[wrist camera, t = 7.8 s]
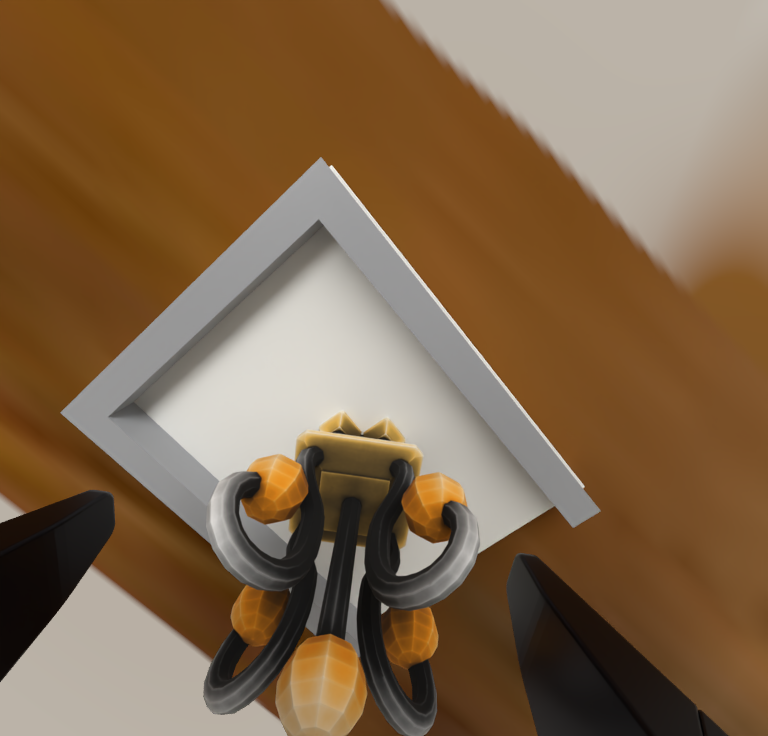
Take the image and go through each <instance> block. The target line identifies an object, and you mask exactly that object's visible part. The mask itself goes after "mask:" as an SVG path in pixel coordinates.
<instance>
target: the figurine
mask: <svg viewBox="0 0 768 736" xmlns="http://www.w3.org/2000/svg"><path fill="white" fill-rule="evenodd" d="M361 433H362V432H361V430H360V429H359V428H358V427H357V426H356V424H355V423H354V422H353V421H352V419H351V418H350V417H349V416H348V415H347V413H346V412H345V411H340V412H339V413H337V414H336V415H334V416H333V417H331V418H330V419H329V420H327V421H326V422H324V423H323V424H321V425H320V426H319V431H316V430H309V429H307V430H305V431H304V432H303V433H301V434H300V435H298V436H297V438H296V448H295V460H292V459H290V458H288V457H286V456H284V455H282V454H276V455H271V456H267V457H262V458H258V459H256V460H255V461H254V462H252V463H251V464H250V466H249V468H248V470H247V471H241V472H235V473H232V474H231V475H229V476H227V477H226V478H224V479H223V480H221V481H219V482H218V484H217V486H216V488H215V490H214V492H213V494H212V496H211V498H210V500H209V503H208V505H207V518H206V528H207V531H208V535H209V538H210V542H211V545H212V548H213V550H214V552H215V553H216V555H217V556H218V558H219V560H220V561H221V563H222V564H223V566H224V567H225V569H227V570H228V571H229V572H230V573H231V574H232V575H233V576H235V577H236V578H237V579H238V580H239V581H240V582H242V583H244V584H246V586H245V588H244V589H243V590H242V592H241V594H240V595H239V597H238V598H237V600H236V602H235V603H234V605H233V608H232V612H231V620H232V624H233V628H234V629H233V630H232V632H231V633H230V634H229V635H228V637H227V638H226V639H225V641H224V642H223V643H222V645H221V647H220V649H219V650H218V652H217V654H216V656H215V657H214V659H213V661H212V663H211V665H210V667H209V670H208V673H207V676H206V679H205V682H204V696H203V697H204V700H205V702H206V705H207V707H208V708H209V709H210V711H211V712H212V713H213V714H221V715H224V714H233V713H236V712H237V711H239V710H240V709H242V708H244V707H246V706H247V705H249V704H250V703H251V702H252V701H253V700H255V699H256V698H257V697H258V696H259V695H260V694H261V693H262V692H264V690H265V689H266V688H267V687H268V686H269V685H270V683H271V682H272V681H273V680H274V679H275V678H276V676H277V675H278V674H279V673H280V671H281V670H282V668H283V667H284V665H285V664H286V665H285V667H284V669H283V671H282V673H281V675H280V677H279V680H278V682H277V689H276V701H275V703H276V706H277V710H278V713H279V716H280V720H281V723H282V725H283V727H284V729H285V731H286V733H287V735H288V736H347V735H348V733H349V732H350V731H351V730H352V728H353V727H354V725H355V724H356V722H357V721H358V719H359V718H360V717H361V715H362V713H363V709H364V705H365V701H366V697H367V689H366V681H365V677H366V680H367V684H368V686H369V688H370V691H371V693H372V695H373V697H374V700H375V702H376V704H377V706H378V707H379V709H380V711H381V712H382V714H383V715H384V717H385V719H386V720H387V722H388V723H389V724H390V725H391V726H392V727H393V728H394V729H395V730H396V731H397V732H398V733H399V734H402V735H405V736H423V735H425V734H427V732H428V731H429V730H430V728H431V727H432V725H433V723H434V719H435V716H436V712H437V693H436V688H435V683H434V678H433V674H432V669H431V666H430V664H429V661H428V660H429V659H430V657H431V656H432V655H433V653H434V651H435V650H436V648H437V646H438V632H437V628H436V625H435V621H434V618H433V615H432V611H431V609H430V608H429V606H431V605H433V604H435V603H437V602H439V601H441V600H443V599H445V598H446V597H447V596H448V595H449V594H451V593H452V592H453V591H454V590H455V589H456V588H457V587H459V586H460V585H461V584H462V583H463V581H464V580H465V578H466V577H467V575H468V574H469V572H470V571H471V569H472V567H473V566H474V564H475V561H476V557H477V554H478V551H479V547H480V537H479V527H478V523H477V518H476V517H475V516H474V515H473V514H472V512H471V511H470V510H469V509H468V506H467V502H466V497H465V493H464V489H463V488H462V486H461V485H460V483H458V482H457V481H455V480H453V479H451V478H449V477H448V476H446V475H444V474H442V473H440V472H436V473H431V474H426V475H421V476H420V471H421V466H422V461H423V453H422V452H421V450H420V449H419V448H418V447H417V445H415V444H408V443H405V441H406V439H405V437H404V436H403V435H402V433H401V432H400V431H399V430H398V428H397V427H396V426H395V425H394V423H393V422H392V421H391V420H390V418H388V417H386V418H384V419H383V420H381V421H380V422H378V423H377V424H375V425H374V426H372V427H371V428H369V429H368V430H366V431H365V432H364V433H363V435H361ZM240 500H241V502H242V505H243V507H244V509H245V512H246V514H247V516H248V517H250V518H252V519H254V520H256V521H258V522H260V523H262V524H264V525H266V524H271V523H276V522H281V521H285V520H288V519H289V527H288V530H289V531H290V532H291V534H292V535H291V537H290V539H289V542H288V544H287V547H286V556H285V557H283V558H282V559H278V558H274V557H271V556H269V555H268V554H266V553H265V552H263V551H261V550H260V549H259V548H258V547H257V546H256V545H255V544H254V543H253V542H252V541H251V540H250V539H249V537H248V535H247V533H246V532H245V530H244V528H243V526H242V522H241V518H240V515H239V509H240ZM409 530H410V531H411V532H412V533H414V534H416V535H417V536H419V537H421V538H423V539H425V540H427V541H429V542H431V543H433V544H434V543H439V542H445V541H448V544H447V546H446V547H445V549H444V550H443V552H442V554H441V555H440V556H439V557H438V558H437V559H436V560H435V561H434V562H433V563H432V564H431V565H429V566H428V567H426V568H424V569H422V570H421V571H419V572H417V573H413V574H410V575H407V576H397V575H396V573H397V572H398V569H399V566H400V549H402V548H403V547H405V546H406V542H407V537H408V532H409ZM321 541H322V542H329V543H334V547H333V552H332V557H331V562H330V567H329V572H328V577H327V582H326V587H325V592H324V597H323V602H322V607H321V612H320V617H319V622H318V627H317V632H316V636H315V637H310V638H307V639H306V640H305V641H304V642H303V643H302V644H301V645H299V647H298V648H297V649H296V651H295V652H294V654H293V655H292V653H293V651H294V649H295V647H296V645H297V643H298V641H299V639H300V637H301V635H302V633H303V631H304V628H305V626H306V623H307V620H308V618H309V615H310V612H311V608H312V604H313V600H314V595H315V590H316V584H317V575H318V573H317V568H316V565H315V562H314V561H315V559H316V557H317V555H318V552H319V548H320V545H321ZM356 546H359V547H365V558H364V565H365V571H366V573H365V575H364V576H363V578H362V581H361V585H360V590H359V597H358V605H357V618H356V619H357V639H358V645H359V652H360V658H361V663H362V666H363V669H362V666H361V663H360V661H359V658H358V655H357V653H356V651H355V649H354V648H353V646H352V644H351V643H349V642H347V641H345V635H346V627H347V618H348V610H349V602H350V594H351V586H352V578H353V569H354V561H355V553H356ZM291 587H292V590H291V593H290V591H289V588H291ZM381 603H383V604H384V605H386V606H388V607H389V608H388V609H387V611H386V612H385V613H384V614H383V616H382V617H381ZM248 645H251V646H254V647H258V646H264V645H266V646H265V647H264V649H263V650H262V651H261V653H260V654H259V655H258V656H257V657H256V658H255V660H254V661H253V662H252V663H251V664H250V665H249V666H248V667H247V668H245V669H244V670H243V671H242V672H241V673H239V674H238V675H236V676H235V677H233V678H232V675H233V673H234V670H235V667H236V664H237V663H238V661H239V659H240V657H241V655H242V654H243V652H244V651H245V649H246V648H247V647H248ZM291 655H292V656H291ZM290 656H291V658H290ZM289 658H290V659H289ZM288 659H289V661H288ZM388 659H389V660H390V661H391V663H394V664H396V665H398V666H400V667H402V668H404V669H408V670H409V674H410V678H411V683H412V700H411V699H410V698H409V697H408V696H407V695H406V694H405V692H404V691H403V689H402V688H401V686H400V685H399V683H398V681H397V679H396V677H395V675H394V673H393V671H392V669H391V666H390V663H389V660H388ZM287 661H288V662H287ZM286 662H287V663H286ZM363 670H364V672H363ZM364 673H365V674H364Z"/></svg>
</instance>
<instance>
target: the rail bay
mask: <svg viewBox="0 0 768 736" xmlns="http://www.w3.org/2000/svg"><path fill="white" fill-rule="evenodd" d="M340 411H345V412H346V413H347V415H348V416H349V417H350V418H351V419H352V421H353V422H354V423H355V424H356V426H357V427H358V428H359V429H360V430H361V432H362V433H361V435H363V433H364V432H365V431H366V430H368V429H369V428H371V427H372V426H374V425H375V424H377V423H378V422H380V421H381V420H383V419H384V418H386V417H388V418H390V420H391V421H392V422H393V423H394V425H395V426H396V427H397V428H398V430H399V431H400V432H401V433H402V435H403V436H404V437H405V439H406V441H405V443H408V444H415V445H417V447H418V448H419V449H420V450H421V452H422V453H423V461H422V466H421V471H420V476H421V475H426V474H431V473H436V472H440V473H442V474H444V475H446V476H448V477H449V478H451V479H453V480H455V481H457V482H458V483H460V485H461V486H462V488H463V489H464V493H465V497H466V502H467V506H468V509H469V510H470V511H471V512H472V514H473V515H474V516H475V517H476V518H477V523H478V527H479V537H480V547H479V551H478V553H480V552H481V551H483V550H485V549H486V548H488V547H489V546H491V545H493V544H494V543H496V542H498V541H499V540H501V539H502V538H504V537H506V536H507V535H509V534H510V533H512V532H514V531H515V530H517V529H518V528H520V527H522V526H523V525H525V524H526V523H528V522H530V521H531V520H533V519H534V518H536V517H538V516H539V515H541V514H542V513H544V512H546V511H547V510H549V509H550V508H552V507H554V506H555V507H556V508H557V509H558V510H559V511H560V513H561V514H562V515H563V516H564V517H565V519H566V520H567V521H568V522H569V523H570V525H571V526H572V527H573V528H574V527H575V526H577V525H579V524H580V523H582V522H584V521H585V520H587V519H589V518H590V517H592V516H594V515H595V514H597V513H599V512H600V510H599V508H598V507H597V506H596V505H595V503H594V502H593V501H592V499H591V498H590V497H589V496H588V494H587V493H586V492H585V491H584V489H583V488H584V487H585V486H584V485H583V484H582V482H581V481H580V480H579V479H578V477H577V476H576V475H575V474H574V472H573V471H572V470H571V468H570V467H569V466H568V465H567V463H566V462H565V461H564V460H563V458H562V457H561V456H560V454H559V453H558V452H557V451H556V449H555V448H554V447H553V446H552V444H551V443H550V442H549V440H548V439H547V438H546V437H545V435H544V434H543V433H542V432H541V430H540V429H539V428H538V427H537V425H536V424H535V423H534V421H533V420H532V419H531V418H530V416H529V415H528V414H527V413H526V411H525V410H524V409H523V407H522V406H521V405H520V404H519V402H518V401H517V400H516V399H515V397H514V396H513V395H512V393H511V392H510V391H509V390H508V388H507V387H506V386H505V385H504V383H503V382H502V381H501V379H500V378H499V377H498V376H497V374H496V373H495V372H494V371H493V369H492V368H491V367H490V366H489V364H488V363H487V362H486V360H485V359H484V358H483V357H482V355H481V354H480V353H479V352H478V350H477V349H476V348H475V346H474V345H473V344H472V343H471V341H470V340H469V339H468V338H467V336H466V335H465V334H464V332H463V331H462V330H461V329H460V327H459V326H458V325H457V324H456V322H455V321H454V320H453V319H452V317H451V316H450V315H449V313H448V312H447V311H446V310H445V308H444V307H443V306H442V305H441V303H440V302H439V301H438V299H437V298H436V297H435V296H434V294H433V293H432V292H431V291H430V289H429V288H428V287H427V285H426V284H425V283H424V282H423V280H422V279H421V278H420V277H419V275H418V274H417V273H416V272H415V270H414V269H413V268H412V266H411V265H410V264H409V263H408V261H407V260H406V259H405V258H404V256H403V255H402V254H401V252H400V251H399V250H398V249H397V247H396V246H395V245H394V244H393V242H392V241H391V240H390V238H389V237H388V236H387V235H386V233H385V232H384V231H383V230H382V228H381V227H380V226H379V225H378V223H377V222H376V221H375V219H374V218H373V217H372V216H371V214H370V213H369V212H368V211H367V209H366V208H365V207H364V205H363V204H362V203H361V202H360V200H359V199H358V198H357V197H356V195H355V194H354V193H353V191H352V190H351V189H350V188H349V186H348V185H347V184H346V183H345V181H344V180H343V179H342V177H341V176H340V175H339V174H338V172H337V171H336V170H335V169H334V167H333V166H332V165H331V166H330V167H328V165H327V164H326V163H325V161H324V160H323V159H322V158H320V159H319V160H318V161H317V162H316V163H315V164H313V165H312V166H311V167H310V168H309V169H308V170H307V171H306V172H305V173H304V174H303V175H302V176H301V177H300V178H299V179H298V180H297V181H296V182H295V183H294V184H293V185H292V186H291V187H290V188H289V189H288V190H287V191H286V192H285V193H284V194H283V195H282V196H281V197H280V198H279V199H278V200H277V201H276V202H275V203H274V204H273V205H272V206H271V207H270V208H269V209H268V210H267V211H266V212H265V213H264V214H263V215H261V216H260V217H259V218H258V219H257V220H256V221H255V222H254V223H253V224H252V225H251V226H250V227H249V228H248V229H247V230H246V231H245V232H244V233H243V234H242V235H241V236H240V237H239V238H238V239H237V240H236V241H235V242H234V243H233V244H232V245H231V246H230V247H229V248H228V249H227V250H226V251H225V252H224V253H223V254H222V255H221V256H220V257H219V258H218V259H217V260H216V261H215V262H214V263H213V264H212V265H211V266H209V267H208V268H207V269H206V270H205V271H204V272H203V273H202V274H201V275H200V276H199V277H198V278H197V279H196V280H195V281H194V282H193V283H192V284H191V285H190V286H189V287H188V288H187V289H186V290H185V291H184V292H183V293H182V294H181V295H180V296H179V297H178V298H177V299H176V300H175V301H174V302H173V303H172V304H171V305H170V306H169V307H168V308H167V309H166V310H165V311H164V312H163V313H162V314H161V315H160V316H159V317H158V318H156V319H155V320H154V321H153V322H152V323H151V324H150V325H149V326H148V327H147V328H146V329H145V330H144V331H143V332H142V333H141V334H140V335H139V336H138V337H137V338H136V339H135V340H134V341H133V342H132V343H131V344H130V345H129V346H128V347H127V348H126V349H125V350H124V351H123V352H122V353H121V354H120V355H119V356H118V357H117V358H116V359H115V360H114V361H113V362H112V363H111V364H110V365H109V366H108V367H107V368H106V369H104V370H103V371H102V372H101V373H100V374H99V375H98V376H97V377H96V378H95V379H94V380H93V381H92V382H91V383H90V384H89V385H88V386H87V387H86V388H85V389H84V390H83V391H82V392H81V393H80V394H79V395H78V396H77V397H76V398H75V399H74V400H73V401H72V402H71V403H70V404H69V405H68V406H67V407H66V408H65V409H64V410H63V411H62V412H61V414H62V415H63V416H65V417H66V418H67V419H68V420H69V421H70V422H71V423H73V424H74V425H75V426H76V427H77V428H78V429H79V430H81V431H82V432H83V433H84V434H85V435H86V436H87V437H89V438H90V439H91V440H92V441H93V442H94V443H96V444H97V445H98V446H99V447H100V448H101V449H102V450H104V451H105V452H106V453H107V454H108V455H109V456H110V457H112V458H113V459H114V460H115V461H116V462H117V463H118V464H120V465H121V466H122V467H123V468H124V469H125V470H126V471H128V472H129V473H130V474H131V475H132V476H133V477H135V478H136V479H137V480H138V481H139V482H140V483H141V484H143V485H144V486H145V487H146V488H147V489H148V490H149V491H151V492H152V493H153V494H154V495H155V496H156V497H157V498H159V499H160V500H161V501H162V502H163V503H164V504H165V505H167V506H168V507H169V508H170V509H171V510H172V511H173V512H175V513H176V514H177V515H178V516H179V517H180V518H182V519H183V520H184V521H185V522H186V523H187V524H188V525H190V526H191V527H192V528H193V529H194V530H195V531H196V532H198V533H199V534H200V535H201V536H202V537H203V538H204V539H206V540H207V541H208V542H209V543H210V544H211V542H210V538H209V535H208V531H207V528H206V518H207V505H208V503H209V500H210V498H211V496H212V494H213V492H214V490H215V488H216V486H217V484H218V482H219V481H221V480H223V479H224V478H226V477H227V476H229V475H231V474H232V473H235V472H241V471H247V470H248V468H249V466H250V464H251V463H252V462H254V461H255V460H256V459H258V458H262V457H267V456H271V455H276V454H282V455H284V456H286V457H288V458H290V459H292V460H295V448H296V438H297V436H298V435H300V434H301V433H303V432H304V431H305V430H307V429H309V430H316V431H319V426H320V425H321V424H323V423H324V422H326V421H327V420H329V419H330V418H331V417H333V416H334V415H336V414H337V413H339V412H340ZM239 515H240V518H241V522H242V526H243V528H244V530H245V532H246V533H247V535H248V537H249V539H250V540H251V541H252V542H253V543H254V544H255V545H256V546H257V547H258V548H259V549H260V550H261V551H263V552H265V553H266V554H268V555H269V556H271V557H274V558H278V559H282V558H283V557H285V556H286V547H287V544H288V542H289V539H290V537H291V535H292V534H291V532H290V531H289V530H288V527H289V519H288V520H285V521H281V522H276V523H271V524H266V525H264V524H262V523H260V522H258V521H256V520H254V519H252V518H250V517H248V516H247V514H246V512H245V509H244V507H243V505H242V502H241V500H240V509H239ZM447 544H448V541H445V542H439V543H434V544H433V543H431V542H429V541H427V540H425V539H423V538H421V537H419V536H417V535H416V534H414V533H412V532H411V531H410V530H409V532H408V537H407V542H406V546H405V547H403V548H402V549H400V566H399V569H398V572H397V573H396V575H397V576H407V575H410V574H413V573H417V572H419V571H421V570H422V569H424V568H426V567H428V566H429V565H431V564H432V563H433V562H434V561H435V560H436V559H437V558H438V557H439V556H440V555H441V554H442V552H443V550H444V549H445V547H446V546H447ZM333 547H334V543H329V542H322V541H321V545H320V548H319V552H318V555H317V557H316V559H315V561H314V562H315V565H316V568H317V573H318V575H317V584H316V590H315V595H314V600H313V604H312V608H311V612H310V615H309V618H308V620H307V623H306V626H305V627H306V628H308V629H309V630H310V631H311V632H312V633H313V634H315V635H316V632H317V627H318V622H319V617H320V612H321V607H322V602H323V597H324V592H325V587H326V582H327V577H328V572H329V567H330V562H331V557H332V552H333ZM364 558H365V547H359V546H356V553H355V561H354V569H353V578H352V586H351V594H350V602H349V610H348V618H347V627H346V635H345V641H347V642H349V643H351V644H352V646H353V648H354V649H355V651H356V653H357V655H358V657H360V652H359V645H358V639H357V619H356V618H357V605H358V597H359V590H360V585H361V581H362V578H363V576H364V575H365V573H366V571H365V565H364ZM291 590H292V587H291V588H289V591H290V593H291ZM388 608H389V607H388V606H386V605H384V604H383V603H381V614H382V613H384V612H385V611H387V609H388Z"/></svg>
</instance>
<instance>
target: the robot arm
mask: <svg viewBox="0 0 768 736" xmlns="http://www.w3.org/2000/svg"><path fill="white" fill-rule="evenodd" d="M114 526H115V513H114V498H113V495H112V494H111V493H109V492H105V491H98V490H89V491H86V492H83V493H81V494H78V495H75V496H73V497H70V498H67V499H64V500H62V501H59V502H56V503H54V504H51V505H48V506H45V507H43V508H40V509H37V510H35V511H32V512H29V513H27V514H24V515H21V516H19V517H16V518H13V519H10V520H8V521H5V522H2V523H0V682H1V680H2V679H3V678H4V677H5V676H6V675H7V673H8V672H9V671H10V670H11V668H12V667H13V666H14V665H15V664H16V662H17V661H18V659H20V657H21V656H22V655H23V654H24V653H25V651H26V650H27V649H28V648H29V646H30V645H31V644H32V643H33V641H34V640H35V639H36V638H37V636H38V635H39V634H40V633H41V632H42V630H43V629H44V628H45V627H46V625H47V624H48V623H49V622H50V621H51V619H52V618H53V617H54V616H55V614H56V613H57V612H58V611H59V609H60V608H61V607H62V605H63V604H64V603H65V601H66V600H67V599H68V597H69V595H70V594H71V593H72V592H73V590H74V589H75V587H76V586H77V584H78V583H79V581H80V580H81V579H82V577H83V576H84V574H85V573H86V571H87V570H88V568H89V567H90V565H91V564H92V562H93V561H94V560H95V558H96V557H97V555H98V554H99V552H100V551H101V549H102V548H103V546H104V545H105V543H106V542H107V541H108V539H109V538H110V536H111V534H112V532H113V530H114ZM507 597H508V603H509V608H510V614H511V620H512V626H513V632H514V637H515V643H516V649H517V655H518V660H519V665H520V670H521V674H522V678H523V682H524V686H525V690H526V693H527V697H528V701H529V704H530V708H531V712H532V715H533V719H534V723H535V726H536V730H537V734H538V736H728V735H727V734H726V733H725V732H724V731H723V730H722V729H721V728H720V727H719V726H718V725H717V724H716V723H714V722H713V721H712V720H711V719H710V718H709V717H708V716H707V715H706V714H705V713H704V712H703V711H701V710H698V709H697V706H696V705H695V704H694V703H693V702H692V701H691V700H690V699H689V698H688V697H687V696H686V695H684V694H683V693H682V692H681V691H680V690H679V689H678V688H677V687H676V686H675V685H674V684H673V683H672V682H671V681H670V680H668V679H667V678H666V677H665V676H664V675H663V674H662V673H661V672H660V671H659V670H658V669H657V668H656V667H655V666H653V665H652V664H651V663H650V662H649V661H648V660H647V659H646V658H645V657H644V656H643V655H642V654H641V653H640V652H639V651H637V650H636V649H635V648H634V647H633V646H632V645H631V644H630V643H629V642H628V641H627V640H626V639H625V638H624V637H623V636H621V635H620V634H619V633H618V632H617V631H616V630H615V629H614V628H613V627H612V626H611V625H610V624H609V623H608V622H607V621H605V620H604V619H603V618H602V617H601V616H600V615H599V614H598V613H597V612H596V611H595V610H594V609H593V608H592V607H591V606H589V605H588V604H587V603H586V602H585V601H584V600H583V599H582V598H581V597H580V596H579V595H578V594H577V593H576V592H575V591H573V590H572V589H571V588H570V587H569V586H568V585H567V584H566V583H565V582H564V581H563V580H562V579H561V578H560V577H559V576H557V575H556V574H555V573H554V572H553V571H552V570H551V569H550V568H549V567H548V566H547V565H546V564H545V563H544V562H543V561H541V560H540V559H539V558H538V557H537V556H535V555H529V554H523V553H519V554H517V555H516V557H515V559H514V562H513V565H512V568H511V571H510V574H509V577H508V580H507Z"/></svg>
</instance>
